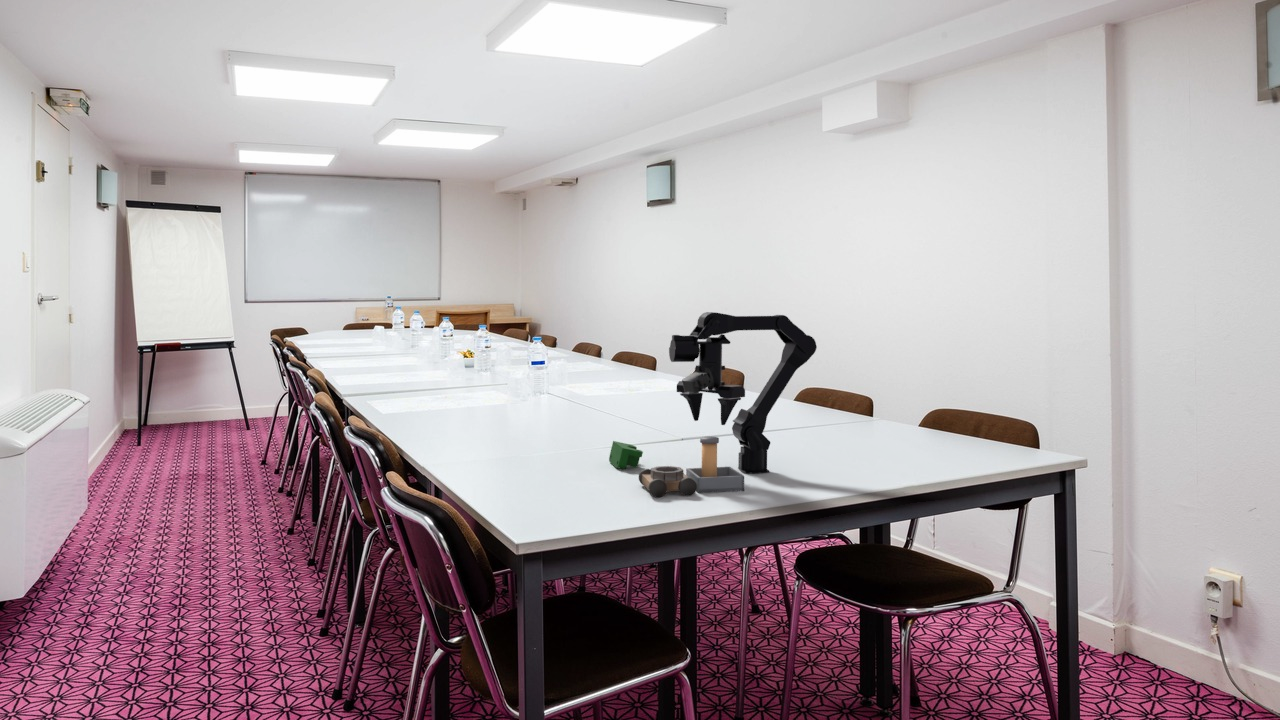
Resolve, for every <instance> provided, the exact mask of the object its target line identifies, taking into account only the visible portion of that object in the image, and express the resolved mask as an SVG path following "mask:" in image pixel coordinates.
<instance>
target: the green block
mask: <svg viewBox="0 0 1280 720" xmlns="http://www.w3.org/2000/svg"><path fill="white" fill-rule="evenodd" d="M643 453H644V451H643V450H641V449H637V446H635V445H633V444H629V443H625V442H619V441H615V440H613V441H612V444H611V448H610V453H609V457H608V462H609V463H610V464H612V465H613V466H614V467H615V468H616V469H620V470H625V469H626V467H627V466H628V467H633V468H637V467H636V466H639V462H640V459H641V458H642V456H643V455H644V454H643Z"/></svg>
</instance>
